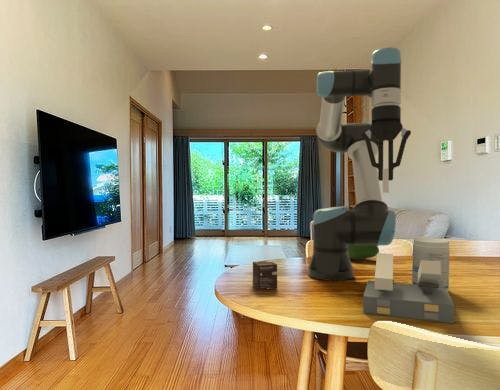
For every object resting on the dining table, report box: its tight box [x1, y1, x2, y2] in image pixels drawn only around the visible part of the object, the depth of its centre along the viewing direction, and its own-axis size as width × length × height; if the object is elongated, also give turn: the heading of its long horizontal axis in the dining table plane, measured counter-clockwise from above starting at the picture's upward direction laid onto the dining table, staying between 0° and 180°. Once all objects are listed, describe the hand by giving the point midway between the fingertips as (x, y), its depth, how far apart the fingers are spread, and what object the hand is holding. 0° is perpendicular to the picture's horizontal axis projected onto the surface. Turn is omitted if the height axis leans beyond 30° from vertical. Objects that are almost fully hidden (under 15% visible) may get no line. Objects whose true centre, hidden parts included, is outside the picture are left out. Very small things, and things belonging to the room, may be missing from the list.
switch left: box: [374, 252, 394, 291], centre depth 93 cm, size 4×14×3 cm, turn 158°
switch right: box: [418, 260, 441, 283], centre depth 89 cm, size 4×14×3 cm, turn 158°
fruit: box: [348, 245, 380, 261], centre depth 153 cm, size 15×10×10 cm, turn 47°
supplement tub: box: [411, 237, 450, 293], centre depth 106 cm, size 10×10×15 cm
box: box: [252, 260, 278, 290], centre depth 110 cm, size 6×6×7 cm
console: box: [362, 279, 455, 324], centre depth 91 cm, size 19×16×7 cm
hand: (385, 192), depth 101 cm, fingers closed
